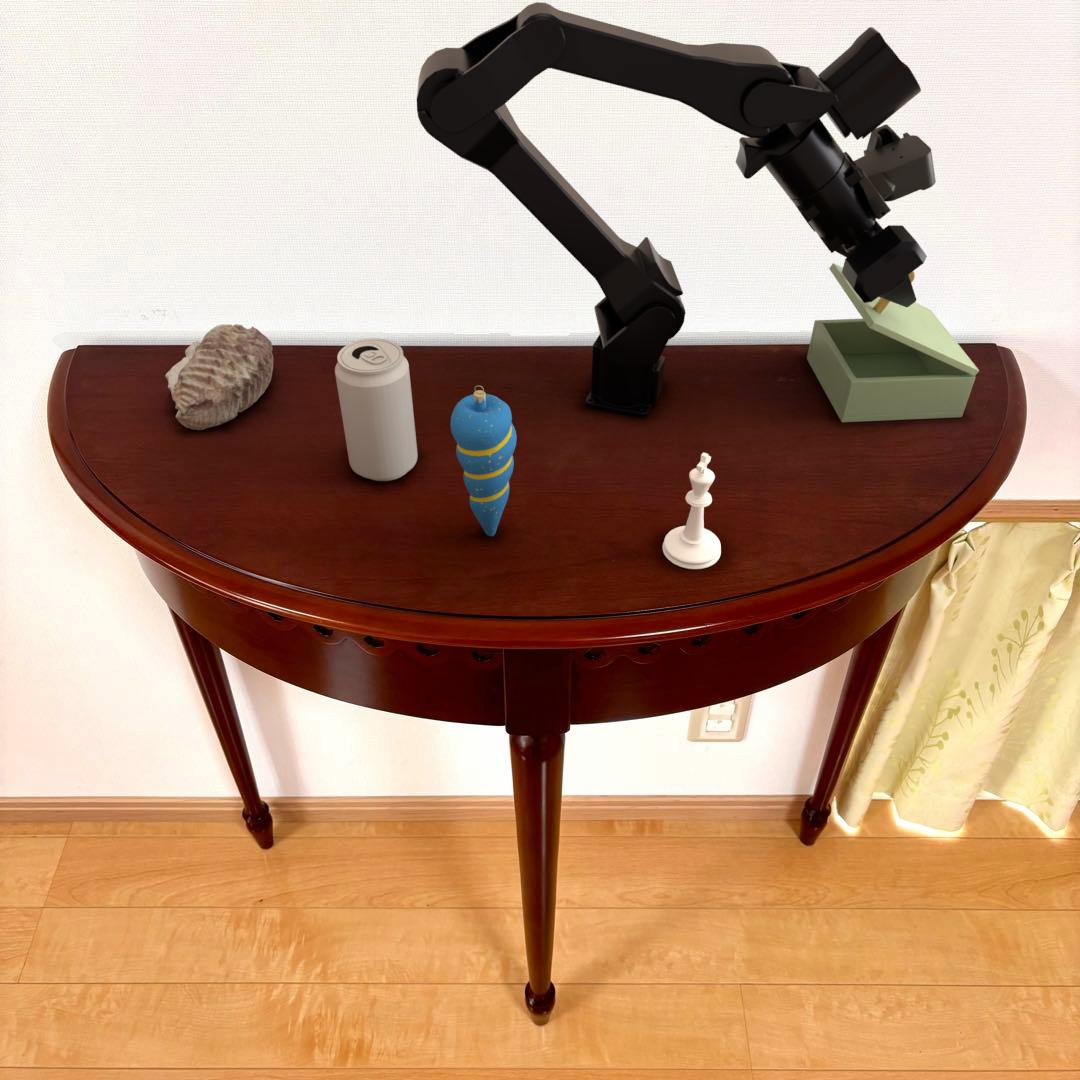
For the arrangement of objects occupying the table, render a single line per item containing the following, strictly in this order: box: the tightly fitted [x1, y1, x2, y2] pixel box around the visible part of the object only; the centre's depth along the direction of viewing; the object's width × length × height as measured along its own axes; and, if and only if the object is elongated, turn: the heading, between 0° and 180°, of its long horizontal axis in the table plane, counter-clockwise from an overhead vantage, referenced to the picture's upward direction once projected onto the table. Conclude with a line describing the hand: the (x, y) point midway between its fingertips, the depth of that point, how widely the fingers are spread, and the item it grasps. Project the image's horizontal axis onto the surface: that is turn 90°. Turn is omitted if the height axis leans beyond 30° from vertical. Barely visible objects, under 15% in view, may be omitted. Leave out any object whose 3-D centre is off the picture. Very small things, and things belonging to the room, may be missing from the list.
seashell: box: [164, 323, 274, 431], centre depth 97 cm, size 14×9×10 cm
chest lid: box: [828, 262, 980, 377], centre depth 94 cm, size 13×12×6 cm
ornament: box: [449, 385, 518, 537], centre depth 78 cm, size 5×5×15 cm
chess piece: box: [662, 452, 722, 570], centre depth 78 cm, size 5×5×10 cm
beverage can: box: [334, 337, 419, 482], centre depth 87 cm, size 6×6×12 cm
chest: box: [806, 318, 976, 423], centre depth 99 cm, size 12×12×5 cm
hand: (899, 288), depth 93 cm, fingers closed on chest lid, 6 cm apart
